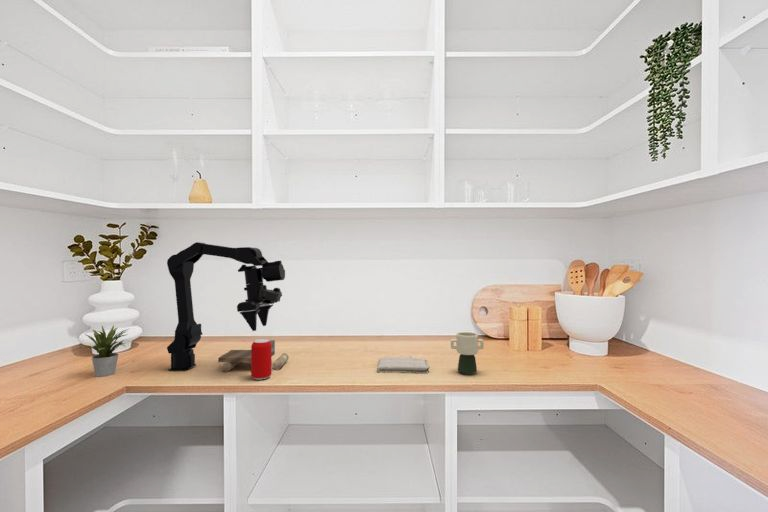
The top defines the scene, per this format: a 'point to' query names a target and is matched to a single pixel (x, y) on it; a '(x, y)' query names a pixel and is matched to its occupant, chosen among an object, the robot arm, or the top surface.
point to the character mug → (467, 351)
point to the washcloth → (402, 364)
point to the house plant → (105, 352)
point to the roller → (280, 361)
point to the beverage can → (261, 359)
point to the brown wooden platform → (239, 357)
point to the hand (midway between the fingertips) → (259, 328)
